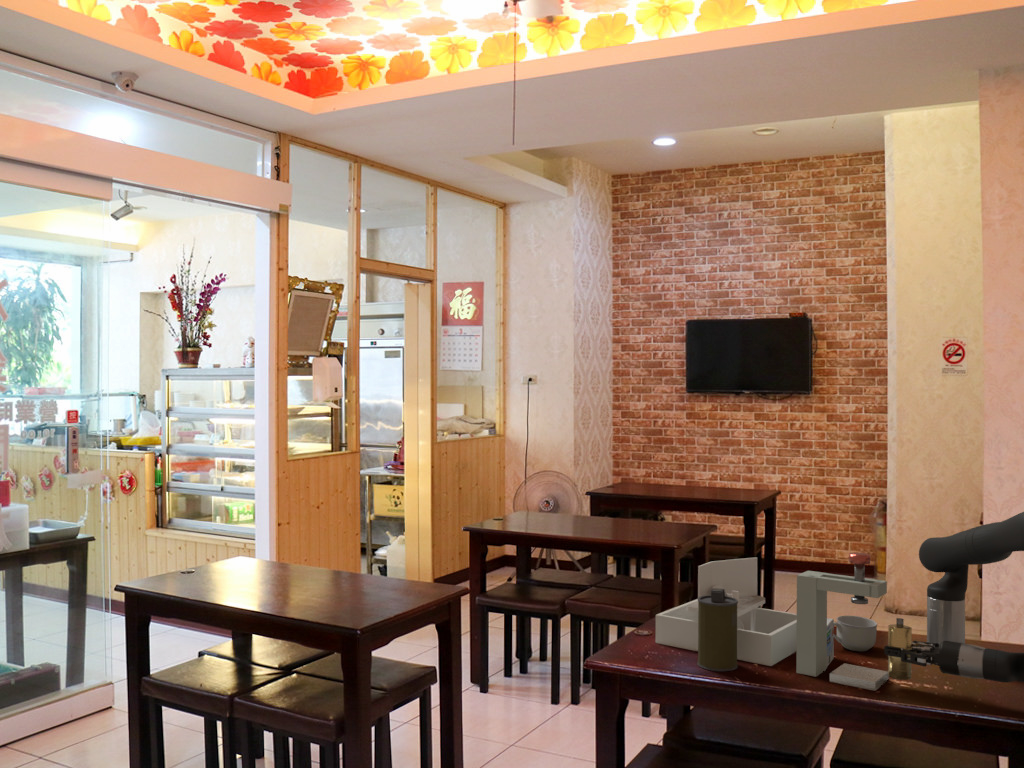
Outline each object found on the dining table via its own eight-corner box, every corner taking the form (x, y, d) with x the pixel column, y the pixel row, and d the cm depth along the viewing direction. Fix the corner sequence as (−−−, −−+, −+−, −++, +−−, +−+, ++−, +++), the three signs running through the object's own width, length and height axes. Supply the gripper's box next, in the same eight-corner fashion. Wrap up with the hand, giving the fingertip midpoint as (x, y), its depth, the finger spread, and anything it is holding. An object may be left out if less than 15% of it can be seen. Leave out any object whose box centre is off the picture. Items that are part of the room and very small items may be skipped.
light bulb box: (827, 668, 236) (827, 626, 236) (800, 664, 239) (800, 623, 239) (834, 657, 245) (834, 618, 245) (808, 654, 248) (808, 614, 248)
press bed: (844, 671, 233) (844, 663, 233) (888, 679, 226) (888, 671, 226) (829, 681, 224) (829, 673, 225) (875, 690, 218) (875, 682, 218)
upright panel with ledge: (747, 663, 241) (748, 575, 241) (675, 649, 253) (675, 565, 254) (784, 640, 263) (784, 560, 264) (716, 628, 276) (716, 552, 276)
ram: (852, 599, 229) (852, 551, 229) (872, 602, 226) (873, 554, 226) (846, 602, 225) (846, 554, 225) (866, 605, 222) (866, 556, 222)
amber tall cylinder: (891, 671, 223) (891, 615, 223) (913, 675, 220) (914, 618, 220) (885, 676, 219) (885, 619, 219) (908, 681, 216) (908, 622, 216)
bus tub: (699, 624, 280) (699, 598, 280) (808, 643, 258) (809, 615, 258) (655, 642, 258) (655, 614, 258) (771, 666, 237) (771, 635, 237)
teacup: (868, 643, 259) (868, 615, 260) (883, 654, 249) (883, 625, 249) (819, 642, 260) (820, 614, 260) (832, 653, 249) (832, 624, 249)
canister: (734, 673, 230) (735, 595, 230) (694, 668, 234) (694, 591, 234) (740, 662, 240) (740, 586, 241) (701, 657, 244) (701, 583, 244)
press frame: (807, 665, 238) (808, 570, 238) (886, 681, 225) (887, 580, 225) (796, 672, 231) (796, 575, 231) (877, 689, 219) (877, 586, 219)
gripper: (970, 637, 216) (896, 626, 227) (956, 650, 205) (879, 638, 216) (970, 668, 216) (896, 656, 227) (956, 683, 205) (879, 669, 216)
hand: (888, 647), depth 221 cm, fingers closed on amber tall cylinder, 5 cm apart
